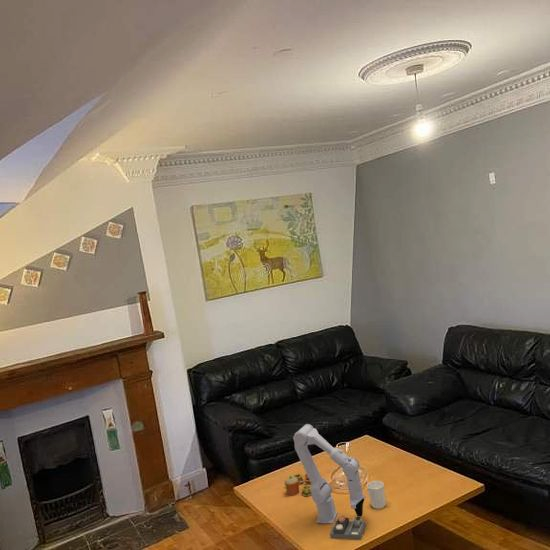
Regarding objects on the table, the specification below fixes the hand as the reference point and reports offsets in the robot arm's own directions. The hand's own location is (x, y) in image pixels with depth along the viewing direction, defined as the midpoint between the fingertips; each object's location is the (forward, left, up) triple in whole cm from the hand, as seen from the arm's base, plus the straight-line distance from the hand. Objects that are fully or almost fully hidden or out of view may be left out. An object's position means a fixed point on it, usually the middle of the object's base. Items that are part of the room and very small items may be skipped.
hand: (359, 515), depth 236 cm
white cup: (-16, +5, -4) cm, 17 cm away
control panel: (+7, -4, -4) cm, 9 cm away
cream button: (+10, -7, -1) cm, 12 cm away
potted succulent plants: (-33, -39, -4) cm, 51 cm away
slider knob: (+5, 0, -1) cm, 5 cm away
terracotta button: (+5, -7, -1) cm, 8 cm away
